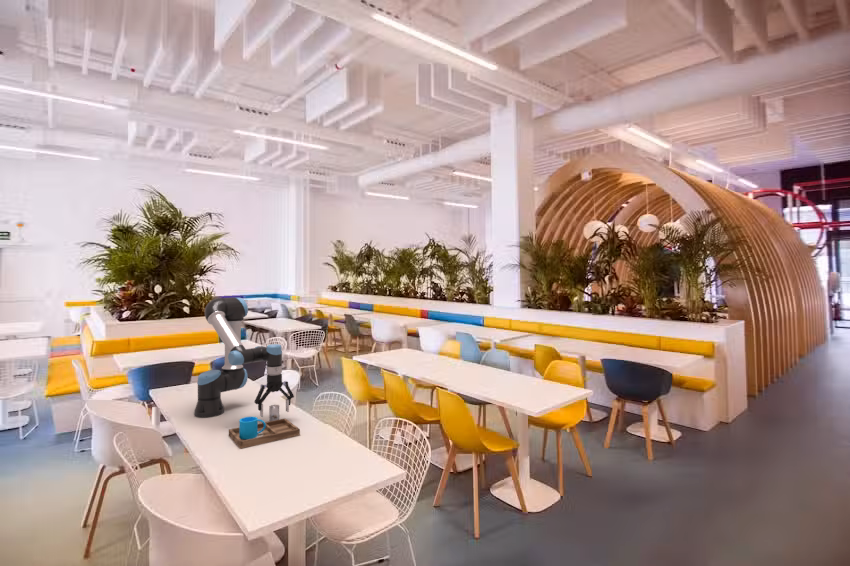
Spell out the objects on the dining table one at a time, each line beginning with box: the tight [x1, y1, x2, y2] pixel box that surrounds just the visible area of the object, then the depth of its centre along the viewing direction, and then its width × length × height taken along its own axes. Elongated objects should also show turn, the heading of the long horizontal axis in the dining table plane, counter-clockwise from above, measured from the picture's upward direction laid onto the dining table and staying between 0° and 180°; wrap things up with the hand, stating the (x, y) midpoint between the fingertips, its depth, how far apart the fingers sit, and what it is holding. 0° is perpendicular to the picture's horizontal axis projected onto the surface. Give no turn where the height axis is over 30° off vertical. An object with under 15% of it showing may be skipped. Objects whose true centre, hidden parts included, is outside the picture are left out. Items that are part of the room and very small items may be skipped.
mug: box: [238, 416, 266, 439], centre depth 212 cm, size 12×8×8 cm
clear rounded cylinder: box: [268, 404, 280, 422], centre depth 233 cm, size 5×5×9 cm
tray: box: [228, 417, 301, 450], centre depth 215 cm, size 20×28×3 cm
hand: (274, 413), depth 233 cm, fingers open, 13 cm apart
